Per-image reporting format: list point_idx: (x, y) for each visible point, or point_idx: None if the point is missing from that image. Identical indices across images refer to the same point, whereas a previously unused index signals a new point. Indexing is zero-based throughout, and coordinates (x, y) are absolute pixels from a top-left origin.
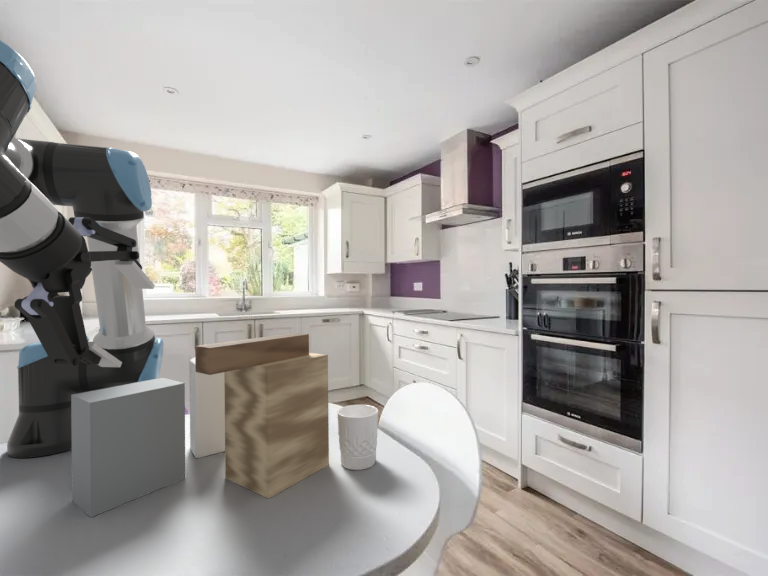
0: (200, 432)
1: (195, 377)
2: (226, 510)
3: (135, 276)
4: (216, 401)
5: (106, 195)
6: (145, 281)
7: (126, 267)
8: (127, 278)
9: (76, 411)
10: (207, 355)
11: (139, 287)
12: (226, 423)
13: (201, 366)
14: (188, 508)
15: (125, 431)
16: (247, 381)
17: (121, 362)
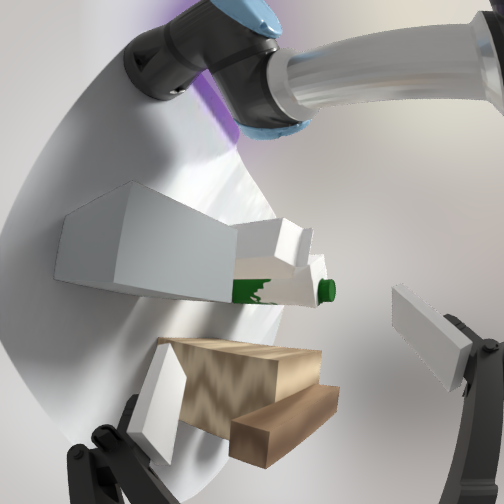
0: None
1: (256, 257)
2: (125, 395)
3: (421, 342)
4: (237, 273)
5: None
6: (408, 340)
7: (446, 366)
8: (418, 311)
9: (112, 213)
10: (254, 459)
11: (394, 299)
12: (203, 351)
13: (238, 439)
14: (109, 360)
15: (126, 289)
16: (252, 410)
17: (185, 379)
